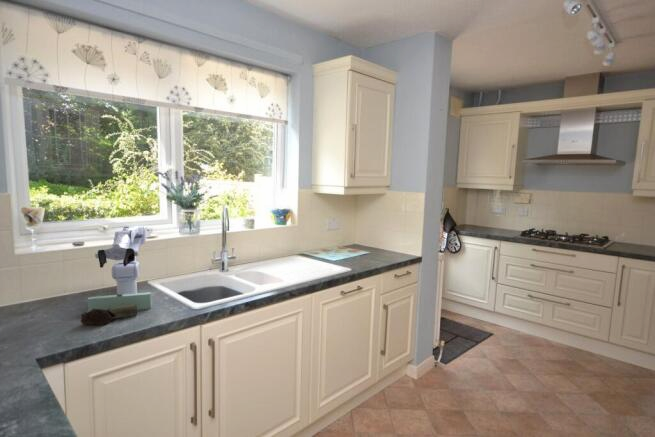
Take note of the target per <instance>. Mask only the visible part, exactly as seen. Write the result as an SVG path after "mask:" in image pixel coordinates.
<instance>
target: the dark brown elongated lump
mask: <svg viewBox="0 0 655 437" xmlns="http://www.w3.org/2000/svg"><path fill="white" fill-rule="evenodd" d="M137 314H138V310H137V306H136V304H134V305H128V306H122V307H116V308H111V309H107V310H103V309H92V310H91V311H90V312H88V311H85V312H84V313H82V314H81V319H80V323H81V324H82V325H96V326H102V325H107V324H109V323H110V322H111V321H112V320H114V319H115V320H116V319H121V318H127V317H134V316H137Z"/></svg>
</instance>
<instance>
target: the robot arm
mask: <svg viewBox="0 0 655 437" xmlns="http://www.w3.org/2000/svg"><path fill="white" fill-rule="evenodd" d="M147 238H148V229H147V226H146V225H125V226H123V228H122V230H117V231H114V236H113V243H112V245H111V247H108V248H105V249H99V250H97V251H95V253H94V256H95V259H98V263H99V267H100V268H101V269H102V268H104V265H105V264H107V262H108V261H107V260H108V259H109V260H113V261H117V262H115V264H113V265H112V267H111V277H112V279H113V280H115V282H116V291H117V292H116V293H117V294H118V293H123V294H135V293H138V285H137V284H138V282H137V279H138V277H140V272H141V271H140V269H141V266H140V262H139V260H136V259H137V257H138V256H139V250H140V248H141V246H142V245H143V244H145V243H146V241H147ZM117 294H116V295H117Z"/></svg>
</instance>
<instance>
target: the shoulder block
mask: <svg viewBox="0 0 655 437" xmlns="http://www.w3.org/2000/svg"><path fill="white" fill-rule="evenodd" d="M86 300H87V312H90V311H91V310H92V309H103V310H107V309H111V308H116V307H122V306H128V305H134V304H136V306H137V311H139V310H149V309H151V310H152V307H153V304H152V292H151V291H150V292H137V293H135V294H123V293H118V294H113V295H112V294H111V295H100V296H89V297H88V298H87V299H86Z"/></svg>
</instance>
